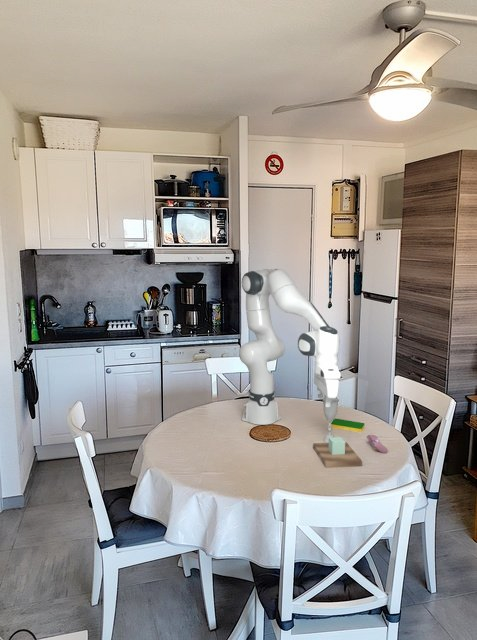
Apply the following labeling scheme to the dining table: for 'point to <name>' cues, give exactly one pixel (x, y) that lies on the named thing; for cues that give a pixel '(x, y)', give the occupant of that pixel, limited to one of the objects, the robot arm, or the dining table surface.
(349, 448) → the walnut board
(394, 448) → the dining table surface
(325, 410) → the chalice
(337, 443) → the sage cube
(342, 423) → the dish sponge
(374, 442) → the video game controller
